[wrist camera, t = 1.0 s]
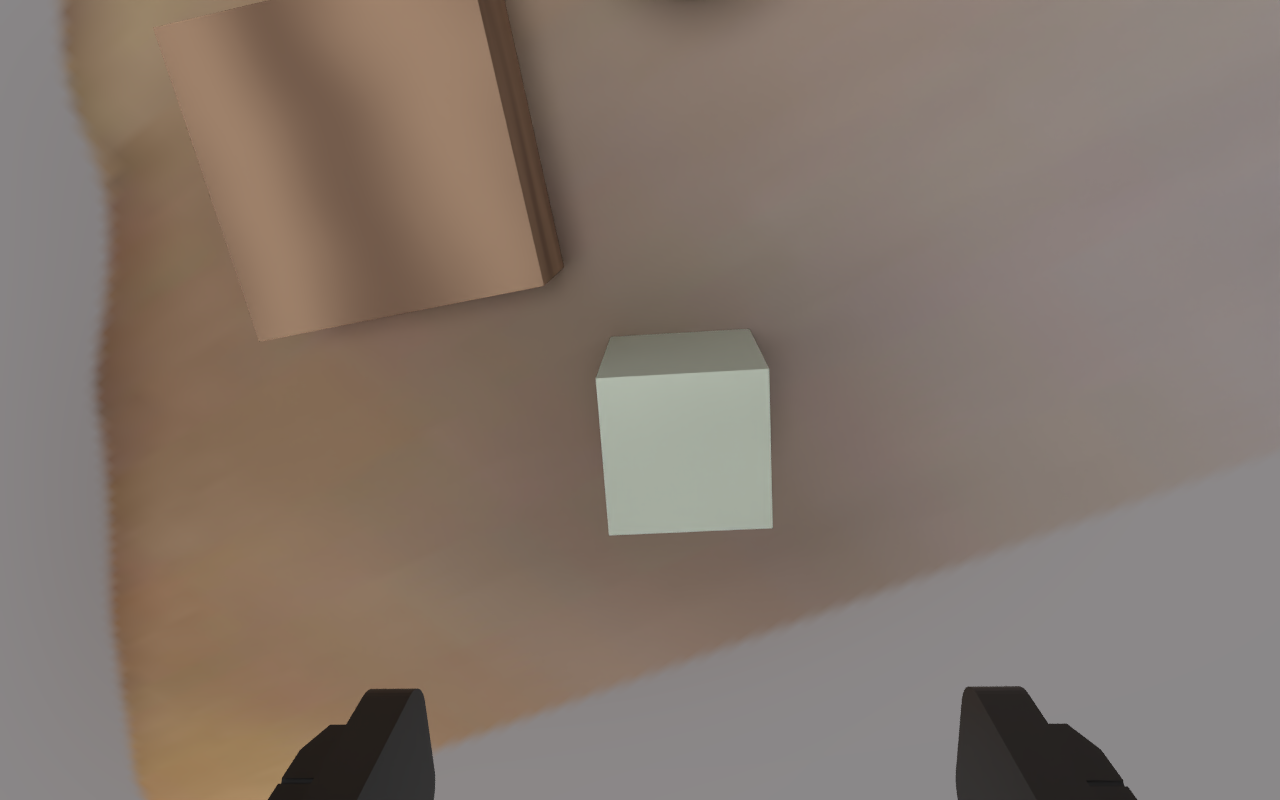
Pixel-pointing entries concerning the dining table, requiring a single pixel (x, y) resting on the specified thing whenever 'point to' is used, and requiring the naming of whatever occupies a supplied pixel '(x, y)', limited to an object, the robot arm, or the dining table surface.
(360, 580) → the dining table surface
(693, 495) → the sage cube
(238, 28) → the walnut block
